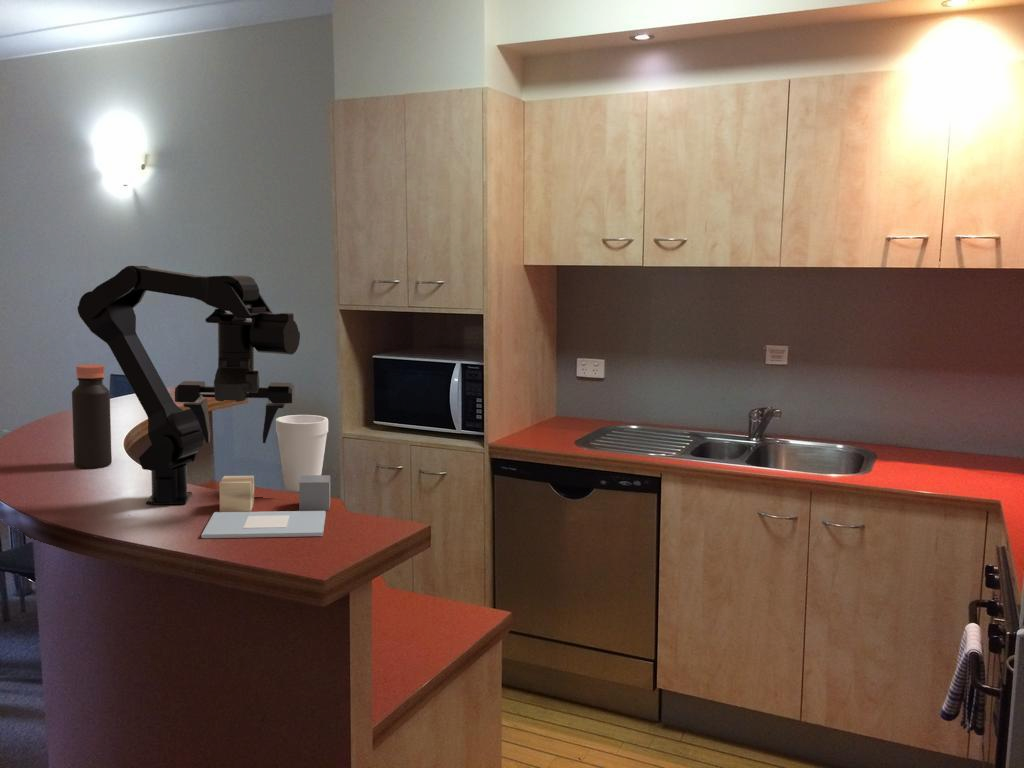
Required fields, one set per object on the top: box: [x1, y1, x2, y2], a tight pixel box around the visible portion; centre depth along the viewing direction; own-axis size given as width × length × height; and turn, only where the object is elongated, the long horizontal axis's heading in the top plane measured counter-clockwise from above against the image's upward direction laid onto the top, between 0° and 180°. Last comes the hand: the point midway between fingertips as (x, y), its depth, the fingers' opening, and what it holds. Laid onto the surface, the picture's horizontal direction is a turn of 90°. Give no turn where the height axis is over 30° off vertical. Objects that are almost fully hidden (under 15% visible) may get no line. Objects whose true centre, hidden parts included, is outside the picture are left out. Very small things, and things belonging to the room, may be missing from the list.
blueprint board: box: [200, 510, 327, 539], centre depth 141 cm, size 12×18×1 cm, turn 100°
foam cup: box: [275, 414, 329, 493], centre depth 165 cm, size 10×9×13 cm
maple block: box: [219, 475, 255, 512], centre depth 151 cm, size 5×5×5 cm
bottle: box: [71, 364, 113, 470], centre depth 176 cm, size 7×7×20 cm
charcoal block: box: [298, 474, 331, 511], centre depth 153 cm, size 5×5×5 cm
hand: (236, 442), depth 150 cm, fingers open, 9 cm apart
